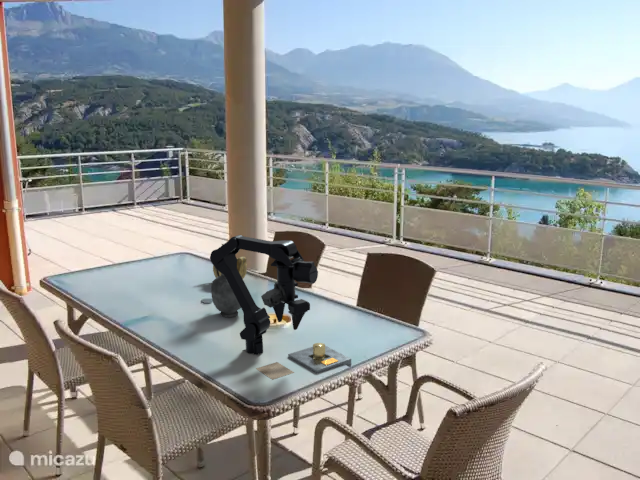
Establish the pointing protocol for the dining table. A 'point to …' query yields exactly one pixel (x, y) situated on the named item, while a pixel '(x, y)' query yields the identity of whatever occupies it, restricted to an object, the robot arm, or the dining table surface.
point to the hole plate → (330, 362)
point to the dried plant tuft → (240, 266)
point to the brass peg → (318, 351)
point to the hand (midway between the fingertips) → (287, 325)
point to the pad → (275, 370)
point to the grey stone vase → (224, 297)
